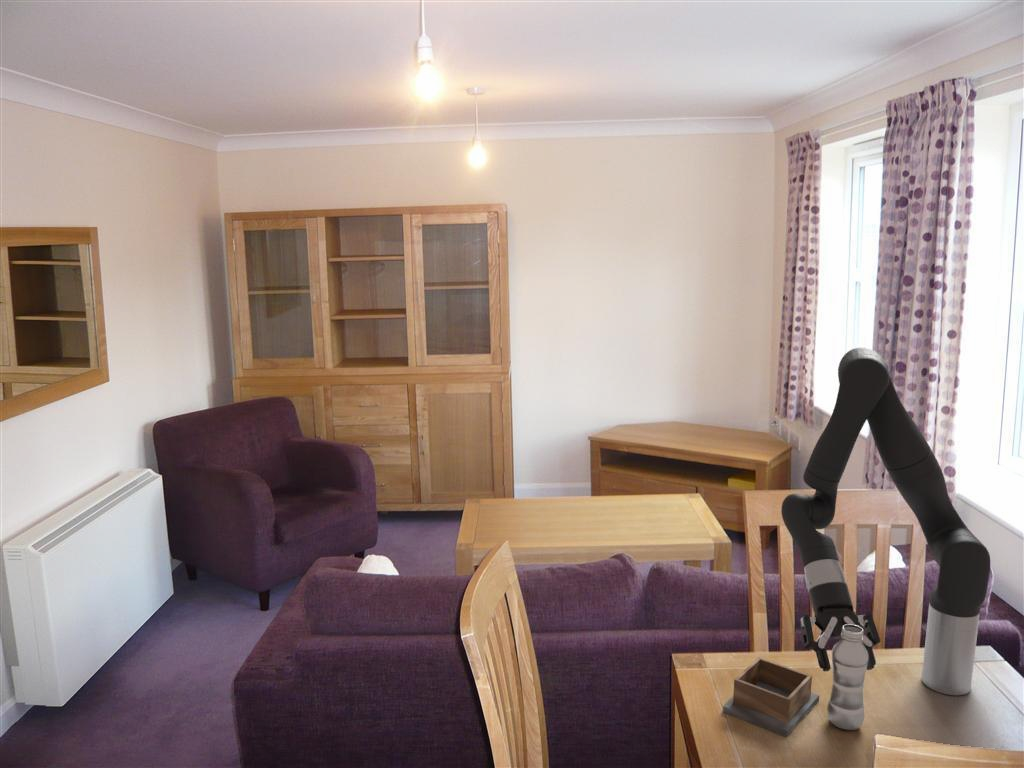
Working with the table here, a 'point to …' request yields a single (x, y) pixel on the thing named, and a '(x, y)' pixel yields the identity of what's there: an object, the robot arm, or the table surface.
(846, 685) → the metal bottle
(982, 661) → the table surface
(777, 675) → the bottle holder
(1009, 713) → the table surface
